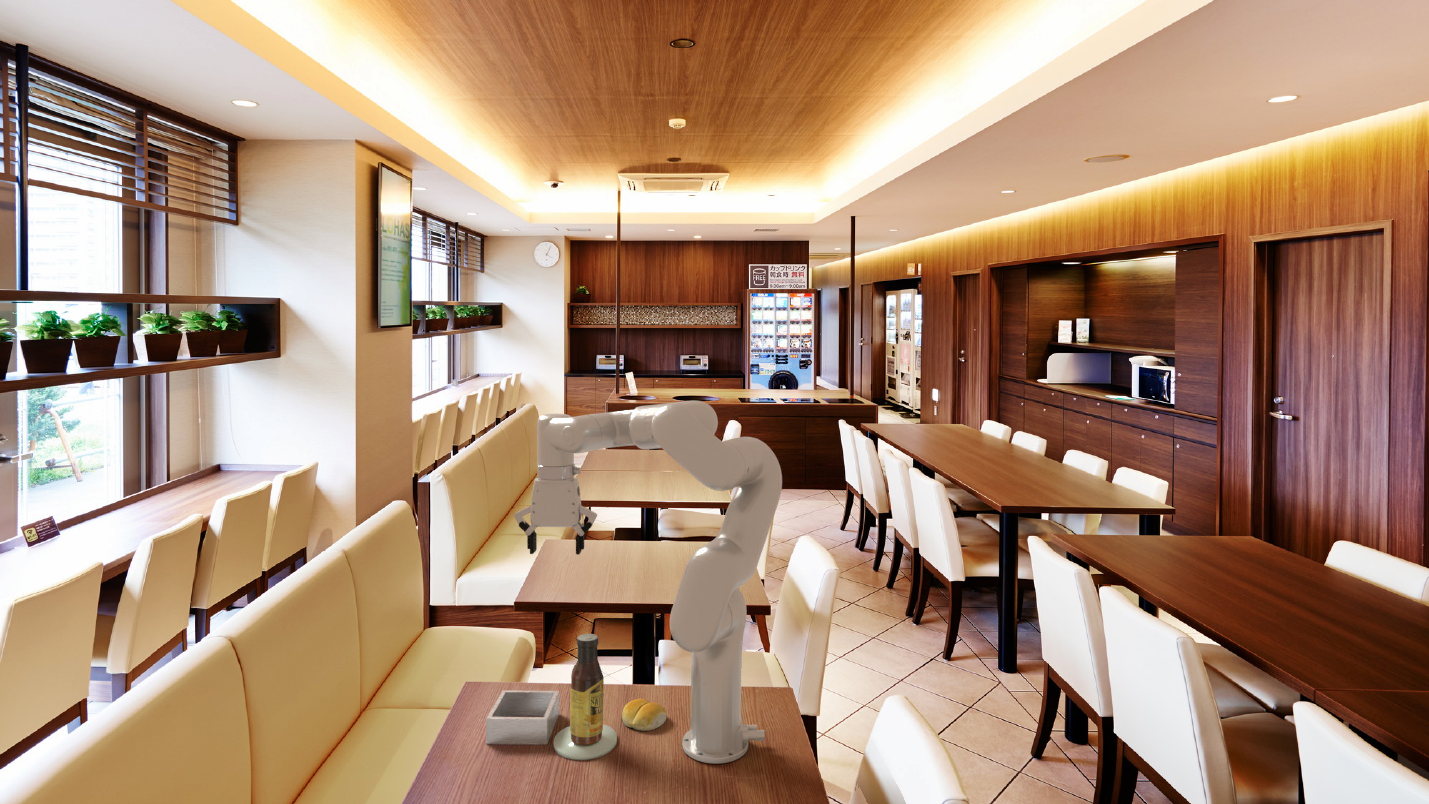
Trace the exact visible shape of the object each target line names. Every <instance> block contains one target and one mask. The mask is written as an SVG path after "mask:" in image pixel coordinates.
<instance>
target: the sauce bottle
mask: <svg viewBox="0 0 1429 804" xmlns="http://www.w3.org/2000/svg"><path fill="white" fill-rule="evenodd" d="M576 645H577V661H576V663H575V664H574V665H573V668H572V670H571V674H570V675H571V676H570V680H571V683H570V695H569V696H570V698H569V699H570V701H569V703H570V705H569V706H570V709H569V712H570V713H569V715H570V717H569V719H570V720H569V726H570V732H571V740H572V742H573V743H575V744H577V745H584V746H586V745H591V744H594V743H596V742H598V741H599V740H600V739H601V737H602V730H603V724H604V683H605V682H604V678H605V677H604V674H603V671H602V669H601V665H600V662H599V659H598V657H599V656H598V646H599V636H598V635H596V634H593V633H584V634H580V635H578V636H577V638H576Z"/></svg>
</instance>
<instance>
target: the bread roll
mask: <svg viewBox="0 0 1429 804" xmlns="http://www.w3.org/2000/svg"><path fill="white" fill-rule="evenodd" d="M621 712H622V713H621V719H622V722H623V724H624V725H625V726H626V727H629V728H630V729H631V728H633V729H634V730H636V731H642V732H645V731H646V732H647V731H653V730H655V729H657V728H659V727H661V726H662V725H663V724H665V722H666V720H667V712H666V709H665V707H664V706H663V705H662V704H660V703H659V702H656V701H655V702H654V701H651V702H650V701H649V700H648V699H646V698H635V699H633V700H631V701H628V702H627V703H626V704H625V706H623V710H622V711H621Z"/></svg>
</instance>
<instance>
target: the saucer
mask: <svg viewBox="0 0 1429 804" xmlns="http://www.w3.org/2000/svg"><path fill="white" fill-rule="evenodd" d="M617 736H618V735H617V732H616V731H615V729H614V728H612V727H611V726H609V725H607V724H604V723H603V730H602V737H601V739H600V740H599V741H598V742H596V743H594V744H591V745H586V746H584V745H577V744H575V743H573V742H572V740H571V732H570V725H569V726H566V727H564V728H563V729H561V730H560V731H558V732H557V733H556V734H555V736H554V738H553V749H554V751H555V752H556V753H557V755H559V756H560V757H563V758H565V759H568V760H572V761H574V760H575V761H587V760H588V761H589V760H593V759H597V758H600V757H603V756H605V755H607V754H609V753H610V752H611V751H613V749H615V747H616V745H617V743H618V737H617Z"/></svg>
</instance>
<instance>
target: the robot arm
mask: <svg viewBox="0 0 1429 804" xmlns="http://www.w3.org/2000/svg"><path fill="white" fill-rule="evenodd" d="M536 424H537V425H536V435H537V437H536V439H537V440H536V447H537V448H536V450H537V451H536V452H537V455H536V456H537V458H536V459H537V461H536V462H537V464H536V465H537V467H536V468H537V469H536V470H537V474H536V475H537V477H536V478H534V480H533V486H532V492H531V498H530V499H531V501H530V505H529V506H527V507H524V508H523V509H521V510H519V511H516V513H514V515H513V516H514V519H515V521H516V523H517V524H518V527H519V528H520V529H521V530H522V531H523V532H524V533H525V535H526V536H527V541H526V542H527V544H526V545H527V546H526V547H527V550H529V554H530V555H533V554H534V553H536V552H537V548H538V547H537V541H538V540H537V537H538V536H537V534H538V533H537V532H536V531H535V530H536V529H537V528H538V527H539V528H572V529H573V530H574V531H575V532H576V536H575V555H577V556H578V555H580V554H581V553H582V550H584V549H585V534H586V533H587V532H588V531H589V530H591V528H592V527H593V525H594V523H595V521H596V519H597V518H598V513H596V512H595V511H593V510H591V509H590V508H587V507H585V506H583V505H582V500H581V499H582V497H581V491H580V489H581V488H580V483H579V479H578V477H575V476H576V475H580V474H581V472H582V468H581V467H578V466H576V464H575V459H574V458H575V454H584V453H589V452H594V451H598V450H602V449H603V450H604V449H608V448H616V447H617V448H619V447H627V446H636V447H637V448H638V449H641V450H654V449H662V450H663V451H664V452H665V453H666V454H667V455H669V456H670V458H672V460H673V461H675V462H676V463H678V465H680V466H681V467H682V468H683V470H685V471H687V472H688V474H690V475H691V476H692V477H693V478H694V479H695V480H697V481H698V482H699V483H701V484H702V485H703V486H704V487H706V488H708V489H710V490H713V491H717V492H725V491H729V490H733V489H734V488H736V491H735V494H734V495H733V497H732V499H730V503H729V504H728V507H727V508H726V512H725V515H724V518H723V522H722V524H721V527H720V529H719V531H718V534H717V535H716V537H715V538H714V539H713V540H711V541H710V542H707V543H705V544H703V545H702V546H701V547H699V548H697V549H696V550H695V552H694V553H692V555H691V556H690V557H689V560H688V562H687V564H686V566H685V568H684V571H683V574H682V576H681V577H682V578H681V580H680V583H679V586H678V589H677V591H676V592H677V593H676V595H675V597H674V601H673V603H672V604H673V605H672V607H671V611H670V615H669V630H670V633H671V638H672V639H673V640H674V642H675V644H676V645H677V646H678V647H679V648H681V649H683V651H685V652H688V653H691V670H690V672H691V675H690V676H691V677H690V678H691V679H690V680H691V681H690V682H691V683H690V729H689V730H688V731H687V732H685V733H684V735H683V737H682V742H681V743H682V745H681V746H682V750H683V751H684V753H685V754H686V755H688V756H689V757H690V758H692V759H694V760H695V761H698V762H701V763H705V764H706V763H707V764H718V765H719V764H726V763H727V764H728V763H731V762H734V761H736V760H738V759H740V758H741V757H743V756H745V754H746V753H747V751H748V750H749V741H755V742H764V741H765V738H766V735H765V729H758V724H745V723H743V719H742V717H743V716H742V713H741V712H742V711H741V710H742V707H741V705H742V704H741V703H742V663H743V662H742V660H743V658H742V657H743V644H744V643H743V641H744V634H745V630H746V629H745V628H746V622H747V612H748V611H747V603H746V599H745V597H744V594H743V593H742V591H741V590H740V589H739V588H740V587H742V586H743V585H744V584H746V583H748V581H750V580H751V578H752V577H754V575H755V573H756V570H757V567H758V565H759V562H760V557H761V555H762V552H763V551H764V546H765V544H766V541H767V538H768V535H769V532H770V529H771V525H772V522H773V519H774V516H775V513H776V511H777V508H778V505H779V502H780V499H781V494H782V488H783V475H782V469H781V465H780V463H779V459H778V458H777V456H776V454H775V452H773V450H772V449H771V447H770V446H768V445H767V443H765V442H764V441H762V440H760V439H759V438H756V437H752V436H740V437H734V438H730V439H727V440H723V441H722V440H721V439H719V438H718V437H717V436H716V435H715V434H716V432H717V429H718V425H719V421H718V415H717V413H716V411H715V410H714V408H713V407H712V406H711V405H710V404H709V403H706V402H705V401H702V400H693V399H692V400H685V401H684V400H683V401H677V402H676V401H675V402H666V403H657V404H650V405H640V406H636V407H635V408H634V409H629V410H628V409H627V410H619V411H610V412H609V411H608V412H600V413H589V414H584V415H583V414H582V415H578V416H577V415H576V416H571V415H570V414H566V413H545V414H542V415H540V416H539V417H538V419H537V422H536ZM528 514H530V524H531V525H530V524H529V523H528V522H527V521H526V520H525V518H524V517H525V516H526V515H528ZM582 515H583V516H585V517H587V519H588V521H587V522H586V523H585V524H584V525H583V524H582V522H581V520H582Z"/></svg>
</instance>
